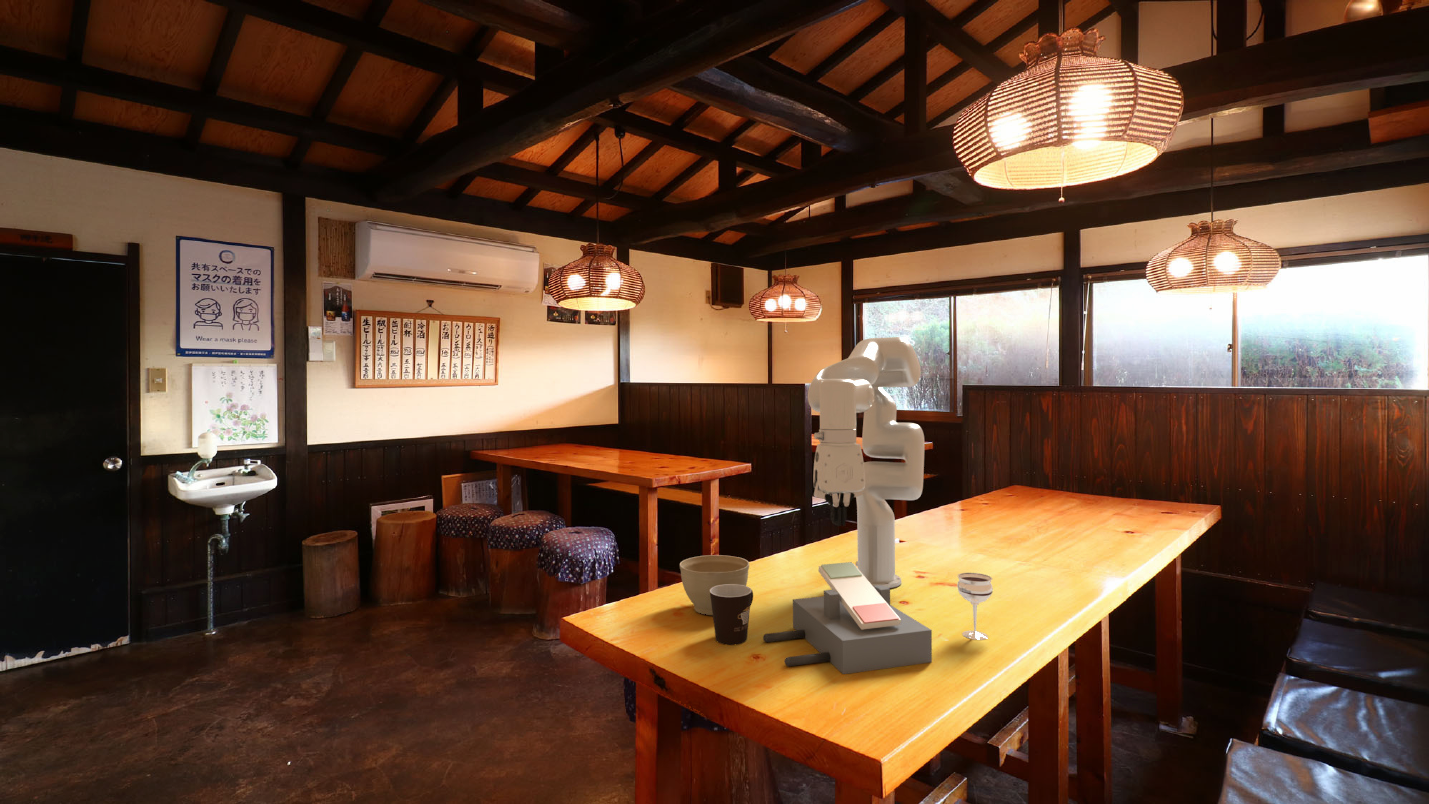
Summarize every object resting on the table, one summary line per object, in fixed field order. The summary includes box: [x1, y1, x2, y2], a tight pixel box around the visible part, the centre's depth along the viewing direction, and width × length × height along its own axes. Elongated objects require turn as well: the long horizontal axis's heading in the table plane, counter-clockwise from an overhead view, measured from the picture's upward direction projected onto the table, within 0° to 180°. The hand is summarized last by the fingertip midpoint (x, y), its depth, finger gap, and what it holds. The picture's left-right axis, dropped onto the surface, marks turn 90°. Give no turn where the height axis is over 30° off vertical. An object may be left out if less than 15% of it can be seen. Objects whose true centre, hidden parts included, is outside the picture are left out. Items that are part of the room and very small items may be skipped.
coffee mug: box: [710, 584, 754, 646], centre depth 134 cm, size 12×9×10 cm
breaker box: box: [762, 585, 933, 675], centre depth 129 cm, size 24×27×11 cm
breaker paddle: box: [818, 561, 901, 630], centre depth 130 cm, size 20×8×2 cm, turn 15°
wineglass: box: [956, 572, 993, 641], centre depth 134 cm, size 7×7×12 cm
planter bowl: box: [679, 554, 750, 616], centre depth 152 cm, size 16×16×11 cm
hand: (838, 524), depth 138 cm, fingers closed
